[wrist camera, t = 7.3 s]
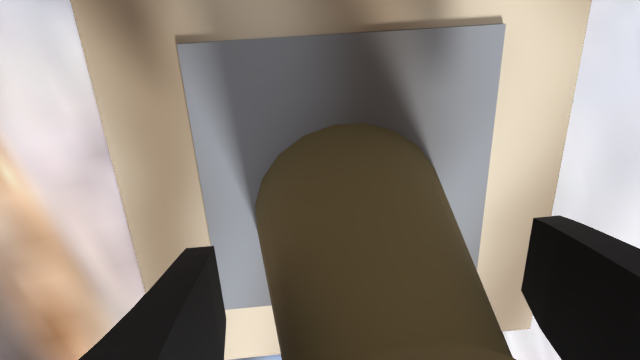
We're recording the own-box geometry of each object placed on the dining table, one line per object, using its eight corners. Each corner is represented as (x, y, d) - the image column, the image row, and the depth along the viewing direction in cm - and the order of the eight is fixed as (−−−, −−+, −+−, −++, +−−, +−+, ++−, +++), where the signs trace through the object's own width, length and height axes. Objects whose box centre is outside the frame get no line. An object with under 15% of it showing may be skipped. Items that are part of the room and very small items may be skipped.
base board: (171, 336, 19) (162, 370, 17) (78, -55, 13) (52, -56, 11) (512, 303, 20) (532, 332, 18) (574, -79, 14) (612, -84, 12)
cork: (232, 145, 14) (130, 617, 4) (434, 104, 14) (837, 470, 4) (278, 303, 16) (284, 825, 7) (447, 268, 16) (709, 738, 7)
